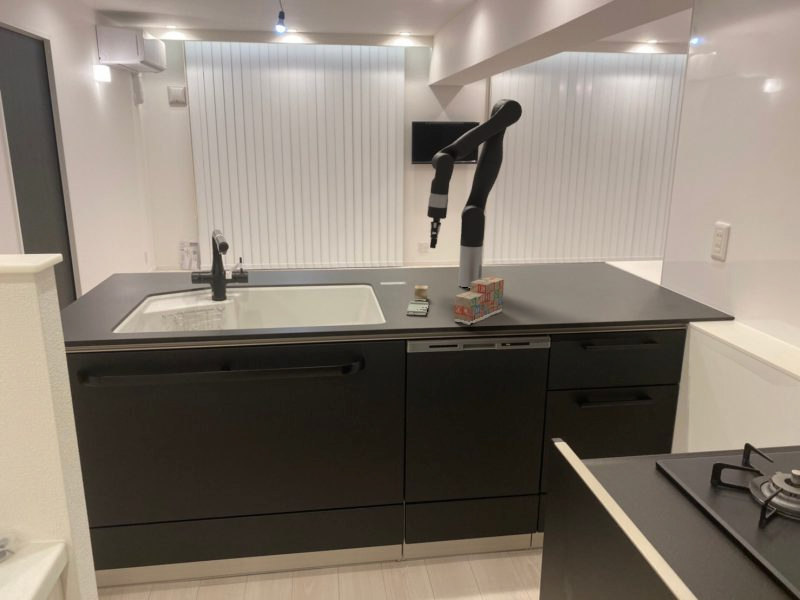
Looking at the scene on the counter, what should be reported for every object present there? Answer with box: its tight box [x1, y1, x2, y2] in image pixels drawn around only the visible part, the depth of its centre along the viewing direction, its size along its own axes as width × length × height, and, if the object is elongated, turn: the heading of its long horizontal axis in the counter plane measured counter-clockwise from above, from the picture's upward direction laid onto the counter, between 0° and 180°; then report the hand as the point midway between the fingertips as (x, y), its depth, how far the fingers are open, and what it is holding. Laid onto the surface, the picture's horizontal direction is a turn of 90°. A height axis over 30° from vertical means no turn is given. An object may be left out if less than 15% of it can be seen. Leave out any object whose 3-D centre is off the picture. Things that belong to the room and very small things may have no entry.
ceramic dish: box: [406, 300, 430, 313], centre depth 210 cm, size 7×12×2 cm, turn 174°
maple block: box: [413, 285, 429, 300], centre depth 224 cm, size 5×5×5 cm
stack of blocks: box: [453, 276, 505, 322], centre depth 202 cm, size 21×6×12 cm, turn 141°
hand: (433, 246), depth 235 cm, fingers open, 8 cm apart
